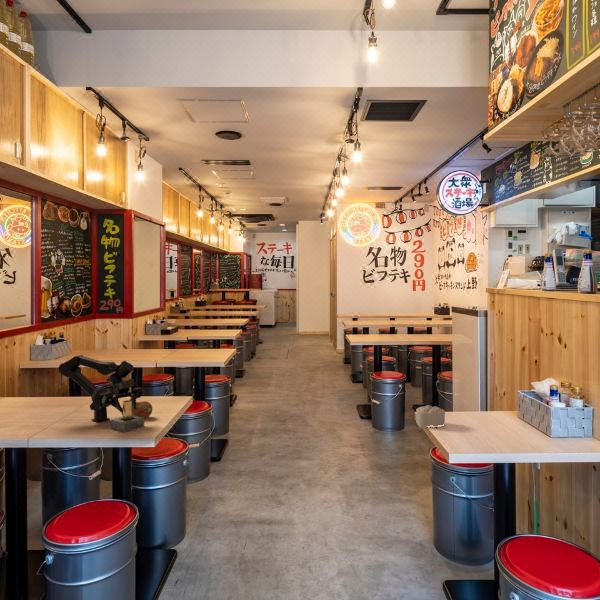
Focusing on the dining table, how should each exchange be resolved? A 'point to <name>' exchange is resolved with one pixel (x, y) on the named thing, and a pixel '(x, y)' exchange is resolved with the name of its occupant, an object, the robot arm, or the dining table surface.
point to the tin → (141, 409)
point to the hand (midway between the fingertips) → (128, 410)
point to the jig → (127, 423)
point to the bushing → (127, 410)
